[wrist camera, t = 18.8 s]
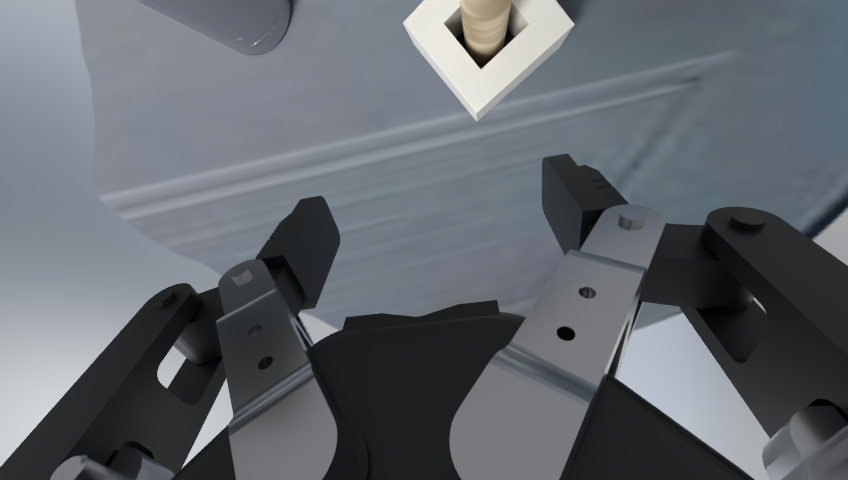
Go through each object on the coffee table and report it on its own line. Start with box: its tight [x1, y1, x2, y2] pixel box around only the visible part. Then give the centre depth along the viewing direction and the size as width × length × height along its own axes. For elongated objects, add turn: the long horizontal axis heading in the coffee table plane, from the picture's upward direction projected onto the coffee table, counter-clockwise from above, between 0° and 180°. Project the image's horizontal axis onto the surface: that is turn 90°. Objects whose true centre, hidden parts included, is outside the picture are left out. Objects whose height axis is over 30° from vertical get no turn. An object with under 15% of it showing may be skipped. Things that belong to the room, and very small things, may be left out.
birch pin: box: [460, 0, 512, 68], centre depth 26 cm, size 4×4×12 cm
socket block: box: [403, 0, 575, 121], centre depth 26 cm, size 10×10×12 cm
